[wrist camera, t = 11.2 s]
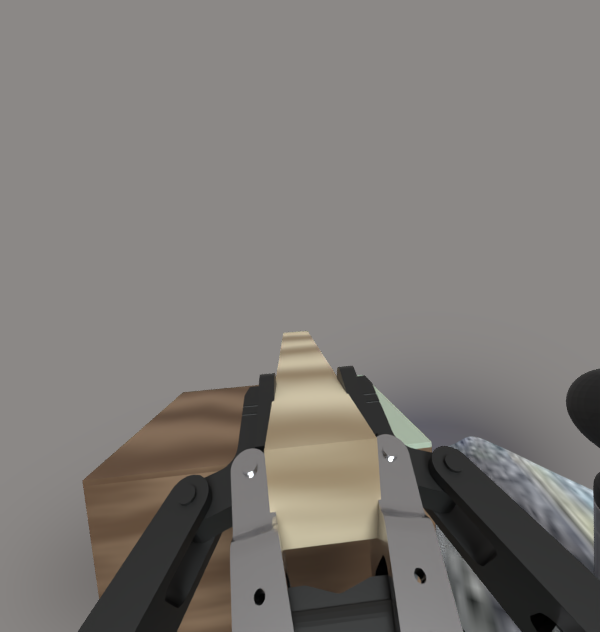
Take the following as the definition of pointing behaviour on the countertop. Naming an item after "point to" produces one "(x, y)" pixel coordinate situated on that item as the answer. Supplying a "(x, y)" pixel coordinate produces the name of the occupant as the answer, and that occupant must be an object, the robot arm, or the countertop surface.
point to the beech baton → (318, 453)
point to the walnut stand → (204, 459)
